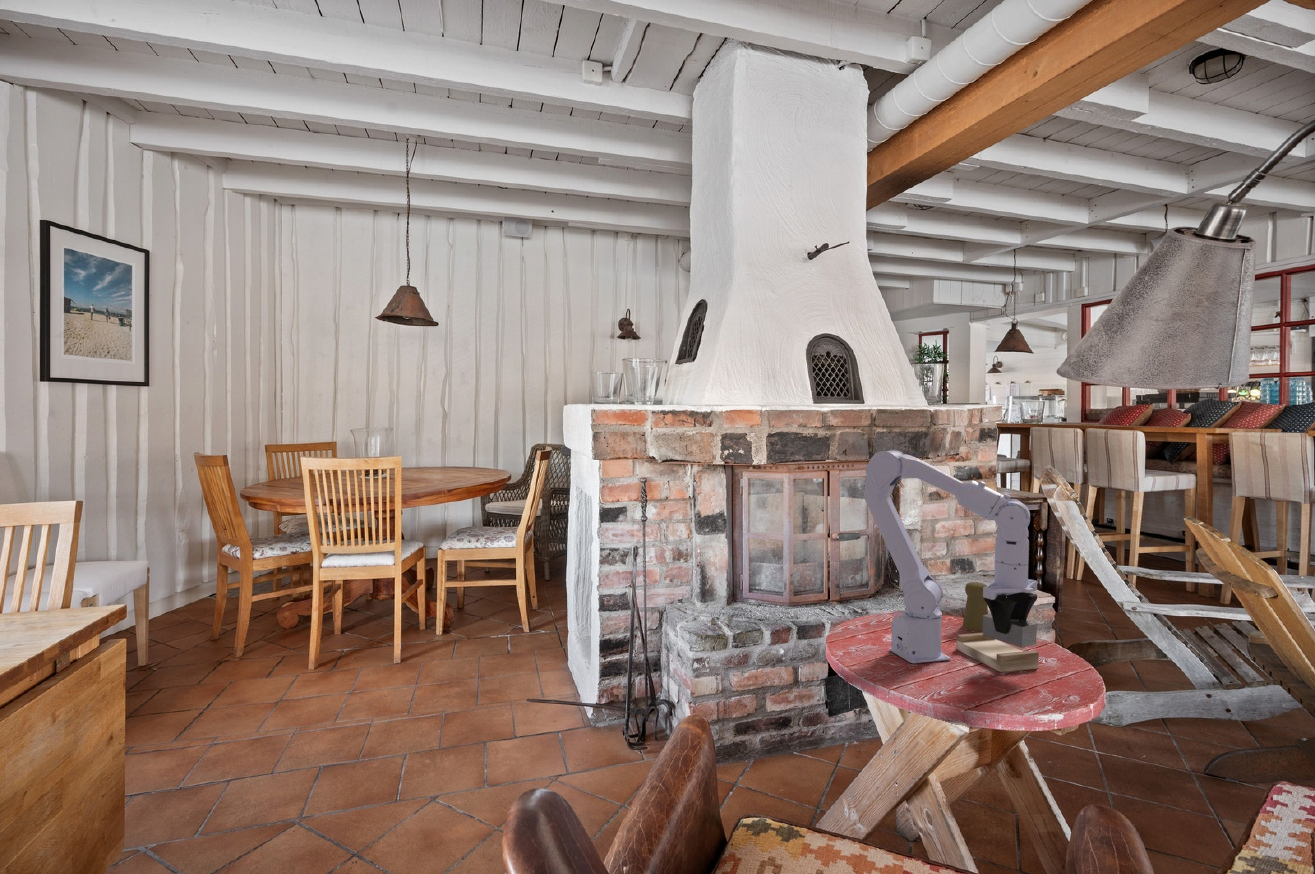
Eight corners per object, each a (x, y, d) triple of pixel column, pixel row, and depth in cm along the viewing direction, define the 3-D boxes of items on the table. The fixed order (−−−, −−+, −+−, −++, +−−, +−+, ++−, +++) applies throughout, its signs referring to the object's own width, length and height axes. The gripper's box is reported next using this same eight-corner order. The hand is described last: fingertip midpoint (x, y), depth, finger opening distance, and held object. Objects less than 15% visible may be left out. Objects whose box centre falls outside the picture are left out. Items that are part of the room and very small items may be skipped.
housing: (982, 634, 125) (983, 613, 125) (996, 631, 127) (997, 610, 127) (1022, 647, 118) (1022, 625, 118) (1036, 643, 120) (1036, 622, 120)
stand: (1038, 668, 125) (1038, 652, 125) (1000, 672, 123) (1001, 656, 123) (991, 646, 137) (991, 631, 137) (956, 649, 135) (956, 634, 135)
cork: (995, 632, 146) (996, 586, 145) (969, 632, 146) (970, 586, 145) (982, 624, 152) (983, 579, 151) (957, 623, 152) (958, 579, 151)
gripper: (1008, 570, 115) (1006, 642, 115) (1053, 562, 122) (1051, 630, 122) (973, 562, 121) (971, 631, 122) (1018, 555, 128) (1016, 620, 129)
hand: (1009, 630), depth 122 cm, fingers closed on housing, 5 cm apart
